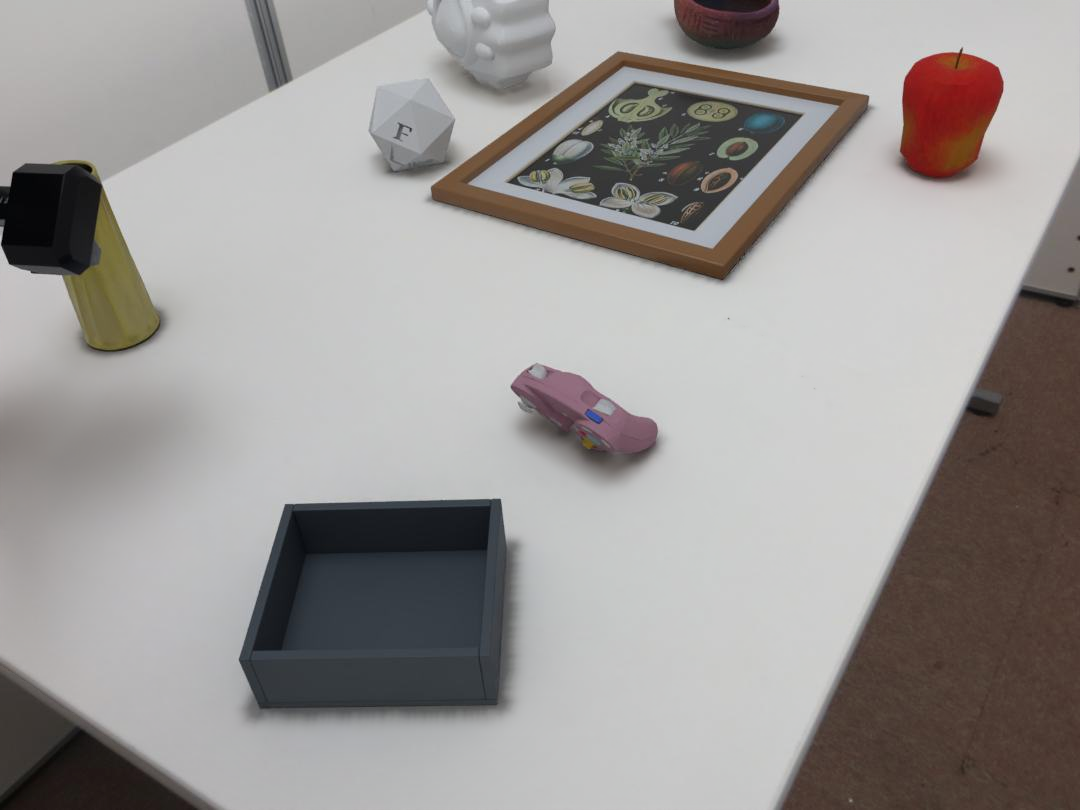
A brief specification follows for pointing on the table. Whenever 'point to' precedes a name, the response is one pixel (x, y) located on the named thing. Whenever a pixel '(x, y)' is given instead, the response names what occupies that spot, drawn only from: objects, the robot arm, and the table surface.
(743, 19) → the bowl
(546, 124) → the picture frame
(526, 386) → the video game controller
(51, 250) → the robot arm
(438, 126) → the die
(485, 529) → the bin
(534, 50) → the white ridged sculpture
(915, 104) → the apple
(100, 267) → the vase
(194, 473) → the table surface
